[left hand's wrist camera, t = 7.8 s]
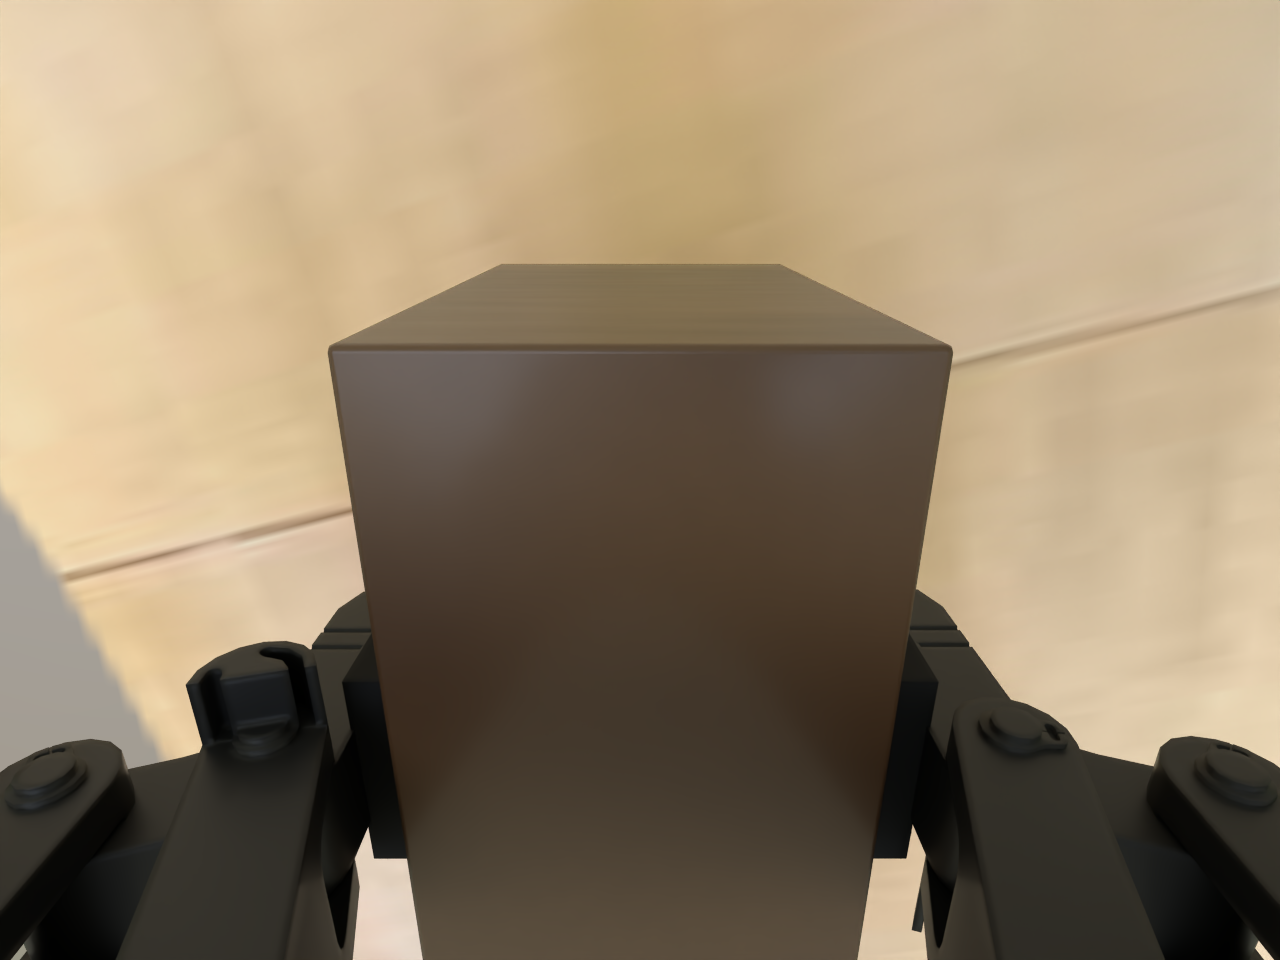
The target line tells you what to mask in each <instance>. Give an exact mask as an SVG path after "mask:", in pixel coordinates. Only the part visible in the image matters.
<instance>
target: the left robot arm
mask: <svg viewBox="0 0 1280 960" xmlns="http://www.w3.org/2000/svg"><path fill="white" fill-rule="evenodd" d="M186 688H187V691H188V695H189V699H190V702H191V706H192V709H193V713H194V716H195V720H196V724H197V727H198V731H199V734H200V738H201V741H202V748H201V750H200V753H197V754H193V755H190V756H186V757H182V758H178V759H173V760H169V761H164V762H159V763H155V764H150V765H146V766H141V767H136V768H132V769H128V768H127V765H126V762H125V759H124V756H123V753H122V751H121V750H120V749H119V748H118V747H117V746H115V745H114V744H113V743H111V742H109V741H102V740H94V739H87V740H80V741H73V742H66V743H62V744H59V745H55V746H52V747H50V748H46V749H43V750H40V751H38V752H35V753H33V754H32V755H30V756H28V757H26V758H24V759H22V760H20V761H18V762H16V763H14V764H12V765H10V766H8V767H7V768H6V769H4V770H3V771H2V772H0V960H11V959H12V958H13V956H14V955H15V954H16V953H17V951H18V950H19V949H20V947H21V946H22V945H23V944H24V945H25V948H26V950H27V952H26V953H25V954H24V955H23V957H22V958H21V959H20V960H353V950H354V940H355V929H356V919H357V908H358V898H359V888H360V886H359V880H358V873H357V868H356V863H355V856H356V854H357V852H358V849H359V847H360V845H361V842H362V840H363V838H364V835H365V833H366V831H367V828H369V833H370V838H371V844H372V849H373V855H374V859H407V855H406V848H405V842H404V836H403V829H402V823H401V817H400V810H399V804H398V797H397V791H396V785H395V778H394V772H393V766H392V759H391V753H390V746H389V740H388V734H387V727H386V721H385V715H384V708H383V702H382V695H381V689H380V683H379V676H378V670H377V663H376V657H375V651H374V644H373V638H372V632H371V625H370V619H369V612H368V606H367V600H366V593H365V592H362V593H361V594H360V595H358V596H357V597H355V598H354V599H352V600H351V601H349V602H348V603H346V604H345V605H343V606H342V607H340V608H339V609H338V610H337V611H336V613H335V614H334V616H333V617H332V618H331V620H330V621H329V622H328V624H327V625H326V627H325V628H324V633H321V634H320V635H319V636H318V638H317V639H316V640H315V642H314V643H313V645H312V649H308V648H307V647H306V646H304V645H301V644H297V643H293V642H288V641H276V642H262V643H257V644H253V645H249V646H245V647H240V648H238V649H235V650H233V651H231V652H228V653H226V654H224V655H221V656H219V657H216V658H215V659H214V660H212V661H211V662H209V663H208V664H206V665H205V666H203V667H202V668H200V669H199V670H197V672H196V673H195V674H194V675H193V677H192V678H191V679H190V680H189V681H188V683H187V684H186ZM912 825H913V826H914V828H915V831H916V833H917V835H918V838H919V840H920V842H921V844H922V847H923V849H924V851H925V854H926V858H925V863H924V868H923V873H922V878H921V883H920V888H919V893H918V898H917V903H916V908H915V914H914V920H913V926H912V930H914V931H918V932H921V931H922V926H923V922H924V927H925V938H926V948H927V958H928V960H1264V959H1263V958H1262V957H1261V955H1260V954H1259V953H1258V952H1257V950H1256V949H1255V947H1256V945H1257V943H1258V941H1260V943H1261V944H1262V945H1263V946H1264V948H1265V949H1266V950H1267V951H1268V953H1269V954H1270V955H1271V956H1272V958H1273V959H1274V960H1280V768H1279V767H1278V766H1276V765H1275V764H1274V763H1272V762H1270V761H1268V760H1266V759H1264V758H1262V757H1260V756H1258V755H1256V754H1254V753H1252V752H1250V751H1249V750H1247V749H1244V748H1242V747H1239V746H1236V745H1234V744H1233V745H1232V744H1230V743H1227V742H1223V741H1219V740H1216V739H1209V738H1201V737H1194V736H1188V737H1180V738H1173V739H1170V740H1169V741H1168V742H1166V743H1165V744H1164V745H1163V746H1161V747H1160V749H1159V752H1158V755H1157V758H1156V761H1155V764H1154V766H1149V765H1144V764H1140V763H1135V762H1130V761H1126V760H1121V759H1117V758H1112V757H1107V756H1103V755H1098V754H1095V753H1091V752H1088V751H1084V750H1081V749H1079V746H1078V744H1077V743H1076V741H1075V740H1074V738H1073V737H1072V735H1071V734H1070V733H1069V731H1068V730H1067V728H1065V727H1064V726H1063V725H1061V724H1060V723H1059V722H1058V721H1056V720H1055V719H1054V718H1052V717H1051V716H1050V715H1048V714H1046V713H1044V712H1042V711H1040V710H1038V709H1036V708H1034V707H1032V706H1030V705H1028V704H1025V703H1021V702H1017V701H1013V700H1010V698H1009V697H1008V695H1007V694H1006V693H1005V691H1004V690H1003V689H1002V687H1001V686H1000V684H999V683H998V682H997V680H996V679H995V678H994V676H993V675H992V673H991V672H990V671H989V669H988V668H987V667H986V665H985V664H984V663H983V661H982V660H981V658H980V657H979V656H978V654H977V653H976V652H975V650H974V649H973V647H969V642H968V641H967V639H966V638H965V636H964V635H963V634H962V632H961V631H960V630H957V626H956V624H955V623H954V621H953V620H952V619H951V617H950V616H949V615H948V613H947V612H946V610H945V609H944V608H943V606H941V605H940V604H938V603H937V602H935V601H934V600H932V599H931V598H929V597H928V596H926V595H925V594H923V593H922V592H920V591H919V590H916V591H915V597H914V603H913V610H912V616H911V622H910V629H909V635H908V641H907V648H906V654H905V660H904V667H903V673H902V679H901V686H900V692H899V698H898V705H897V711H896V717H895V724H894V730H893V736H892V743H891V749H890V755H889V762H888V768H887V774H886V781H885V787H884V793H883V800H882V806H881V812H880V819H879V825H878V831H877V838H876V844H875V850H874V857H873V858H907V852H908V847H909V841H910V836H911V830H912Z"/></svg>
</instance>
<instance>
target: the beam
mask: <svg viewBox="0 0 1280 960" xmlns="http://www.w3.org/2000/svg"><path fill="white" fill-rule="evenodd" d="M952 356H953V350H952V347H951V346H950V345H948V344H945V343H943V342H941V341H939V340H937V339H935V338H933V337H931V336H929V335H927V334H925V333H922V332H920V331H918V330H916V329H914V328H912V327H910V326H908V325H906V324H904V323H902V322H899V321H897V320H895V319H893V318H891V317H889V316H887V315H885V314H883V313H881V312H879V311H876V310H874V309H872V308H870V307H868V306H866V305H864V304H862V303H860V302H858V301H856V300H853V299H851V298H849V297H847V296H845V295H843V294H841V293H839V292H837V291H835V290H833V289H831V288H828V287H826V286H824V285H822V284H820V283H818V282H816V281H814V280H812V279H810V278H808V277H805V276H803V275H801V274H799V273H797V272H795V271H793V270H791V269H789V268H787V267H785V266H782V265H780V264H501V265H499V266H497V267H494V268H492V269H490V270H488V271H486V272H484V273H482V274H480V275H478V276H475V277H473V278H471V279H469V280H467V281H465V282H463V283H461V284H459V285H457V286H454V287H452V288H450V289H448V290H446V291H444V292H442V293H440V294H438V295H436V296H433V297H431V298H429V299H427V300H425V301H423V302H421V303H419V304H417V305H415V306H412V307H410V308H408V309H406V310H404V311H402V312H400V313H398V314H396V315H393V316H391V317H389V318H387V319H385V320H383V321H381V322H379V323H377V324H375V325H372V326H370V327H368V328H366V329H364V330H362V331H360V332H358V333H356V334H354V335H351V336H349V337H347V338H345V339H343V340H341V341H339V342H337V343H335V344H332V345H330V346H329V349H328V357H329V364H330V370H331V376H332V383H333V389H334V396H335V402H336V408H337V415H338V421H339V427H340V434H341V440H342V447H343V453H344V459H345V466H346V472H347V478H348V485H349V491H350V498H351V504H352V510H353V517H354V523H355V530H356V536H357V542H358V549H359V555H360V561H361V568H362V574H363V581H364V587H365V593H366V600H367V606H368V612H369V619H370V625H371V632H372V638H373V644H374V651H375V657H376V663H377V670H378V676H379V683H380V689H381V695H382V702H383V708H384V715H385V721H386V727H387V734H388V740H389V746H390V753H391V759H392V766H393V772H394V778H395V785H396V791H397V797H398V804H399V810H400V817H401V823H402V829H403V836H404V842H405V848H406V855H407V861H408V868H409V874H410V880H411V887H412V893H413V900H414V906H415V912H416V919H417V925H418V931H419V938H420V944H421V951H422V957H423V960H857V958H858V952H859V945H860V939H861V933H862V926H863V920H864V914H865V907H866V901H867V895H868V888H869V882H870V876H871V869H872V863H873V857H874V850H875V844H876V838H877V831H878V825H879V819H880V812H881V806H882V800H883V793H884V787H885V781H886V774H887V768H888V762H889V755H890V749H891V743H892V736H893V730H894V724H895V717H896V711H897V705H898V698H899V692H900V686H901V679H902V673H903V667H904V660H905V654H906V648H907V641H908V635H909V629H910V622H911V616H912V610H913V603H914V597H915V591H916V584H917V578H918V572H919V565H920V559H921V553H922V546H923V540H924V534H925V527H926V521H927V515H928V508H929V502H930V496H931V489H932V483H933V477H934V470H935V464H936V458H937V451H938V445H939V439H940V432H941V426H942V420H943V413H944V407H945V401H946V394H947V388H948V382H949V375H950V369H951V363H952Z"/></svg>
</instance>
